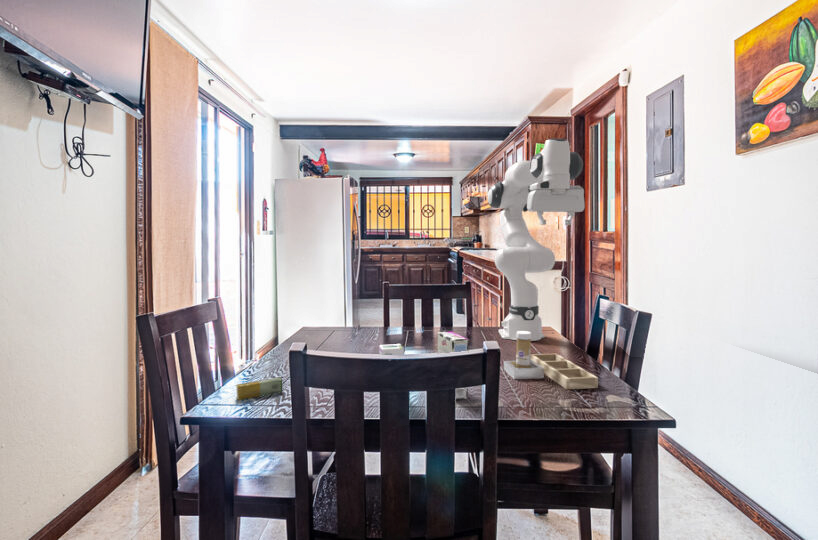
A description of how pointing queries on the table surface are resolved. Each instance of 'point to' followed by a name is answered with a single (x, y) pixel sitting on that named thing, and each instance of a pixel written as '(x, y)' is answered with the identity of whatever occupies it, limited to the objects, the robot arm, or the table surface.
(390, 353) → the syrup box
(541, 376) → the socket block
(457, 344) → the candy bar box
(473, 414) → the table surface
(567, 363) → the wooden compartment tray
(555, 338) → the table surface
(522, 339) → the sprinkles bottle
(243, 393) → the medication box
